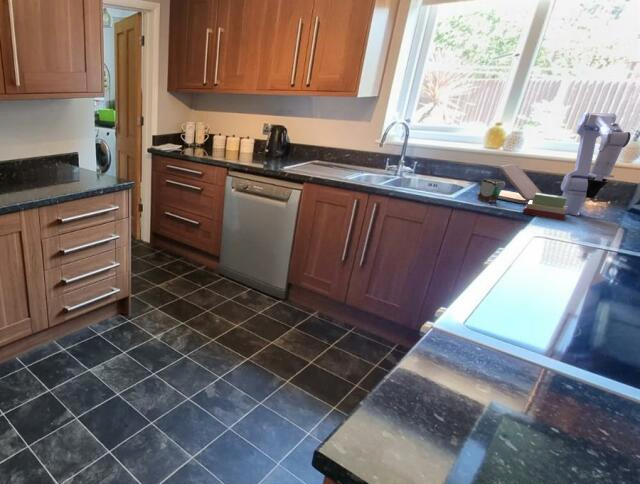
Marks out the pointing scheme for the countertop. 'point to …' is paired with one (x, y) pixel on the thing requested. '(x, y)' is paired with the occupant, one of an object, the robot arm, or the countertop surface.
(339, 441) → the countertop surface
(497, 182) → the food container
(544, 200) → the green block
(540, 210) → the book stack
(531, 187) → the case
